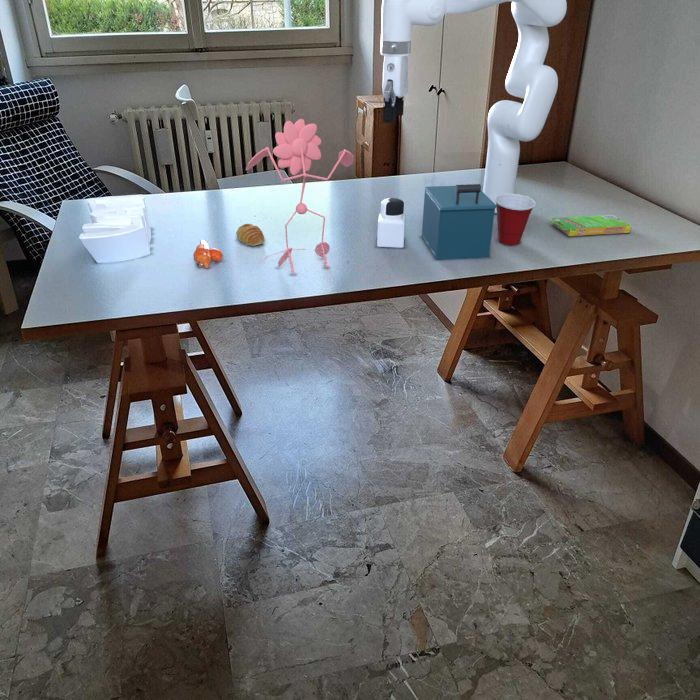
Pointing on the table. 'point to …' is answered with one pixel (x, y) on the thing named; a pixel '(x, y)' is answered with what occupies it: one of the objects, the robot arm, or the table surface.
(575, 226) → the game box
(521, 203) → the plastic cup
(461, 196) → the cool box lid
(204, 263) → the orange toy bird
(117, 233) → the wavy white extrusion
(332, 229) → the table surface
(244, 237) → the pastry
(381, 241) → the medicine bottle
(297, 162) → the figurine
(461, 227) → the cool box
